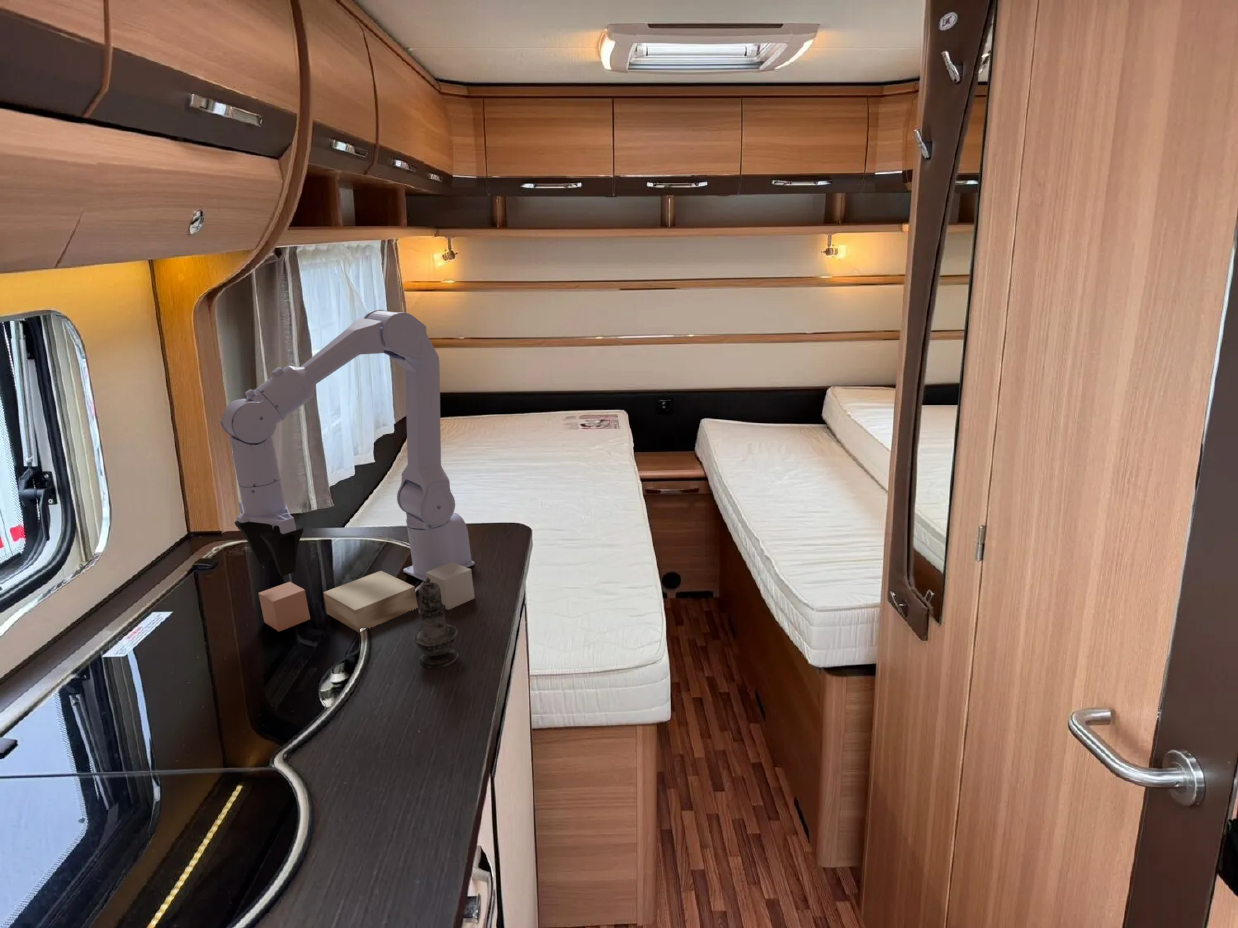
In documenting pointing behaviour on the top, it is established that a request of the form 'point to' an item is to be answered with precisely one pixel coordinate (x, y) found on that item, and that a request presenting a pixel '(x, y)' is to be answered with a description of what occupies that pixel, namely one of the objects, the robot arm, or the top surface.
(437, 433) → the robot arm
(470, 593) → the grey cube
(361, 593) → the birch block
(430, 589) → the dark tall tiered piece
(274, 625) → the terracotta cube
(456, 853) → the top surface
